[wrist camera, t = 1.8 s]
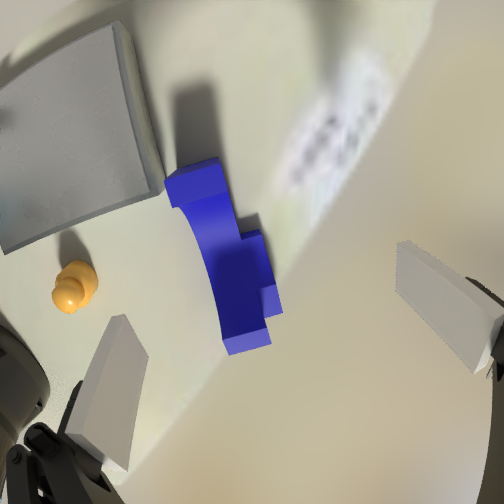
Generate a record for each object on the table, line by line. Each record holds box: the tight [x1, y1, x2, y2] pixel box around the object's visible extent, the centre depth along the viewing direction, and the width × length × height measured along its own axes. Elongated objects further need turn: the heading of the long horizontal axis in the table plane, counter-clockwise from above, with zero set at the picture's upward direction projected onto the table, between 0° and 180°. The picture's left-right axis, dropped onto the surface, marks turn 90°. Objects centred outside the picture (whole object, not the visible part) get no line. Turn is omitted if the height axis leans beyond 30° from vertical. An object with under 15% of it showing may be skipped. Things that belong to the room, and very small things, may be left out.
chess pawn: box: [52, 260, 98, 314], centre depth 19 cm, size 3×3×4 cm
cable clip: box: [164, 157, 283, 355], centre depth 19 cm, size 12×4×6 cm, turn 14°
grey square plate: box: [0, 20, 166, 255], centre depth 12 cm, size 14×12×9 cm
